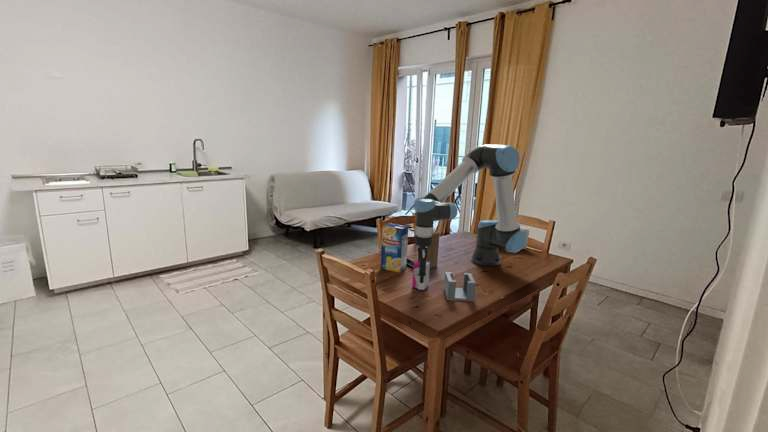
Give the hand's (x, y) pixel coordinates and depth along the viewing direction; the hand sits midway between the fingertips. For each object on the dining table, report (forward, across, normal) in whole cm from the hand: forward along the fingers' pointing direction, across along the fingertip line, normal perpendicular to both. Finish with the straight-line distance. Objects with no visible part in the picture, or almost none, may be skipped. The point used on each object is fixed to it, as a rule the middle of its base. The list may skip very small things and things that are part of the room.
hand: (420, 285), depth 162 cm
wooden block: (+1, -27, +6) cm, 28 cm away
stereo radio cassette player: (+2, -70, +59) cm, 91 cm away
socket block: (+1, +6, +16) cm, 17 cm away
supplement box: (+1, 0, 0) cm, 1 cm away
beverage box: (+1, -22, -12) cm, 25 cm away
